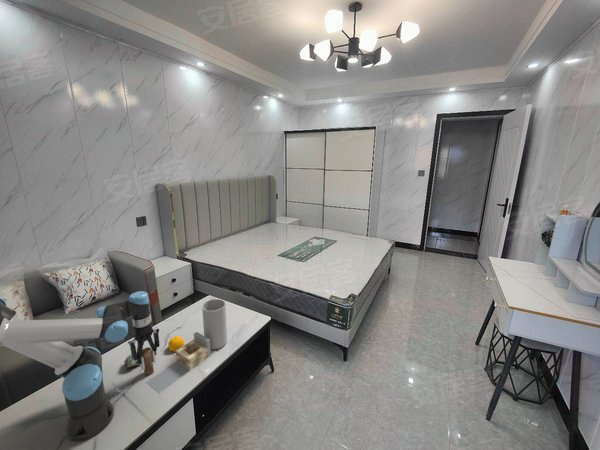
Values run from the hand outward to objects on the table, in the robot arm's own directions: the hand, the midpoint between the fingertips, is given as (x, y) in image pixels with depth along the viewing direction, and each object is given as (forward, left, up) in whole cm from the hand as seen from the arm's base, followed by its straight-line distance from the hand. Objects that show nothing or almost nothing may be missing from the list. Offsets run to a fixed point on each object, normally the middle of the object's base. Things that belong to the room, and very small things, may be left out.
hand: (148, 364), depth 129 cm
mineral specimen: (+1, +11, -6) cm, 13 cm away
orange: (+18, +5, -6) cm, 20 cm away
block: (+17, -10, -5) cm, 21 cm away
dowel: (0, 0, -6) cm, 6 cm away
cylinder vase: (+34, -9, -6) cm, 36 cm away
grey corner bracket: (+10, -10, -6) cm, 16 cm away
